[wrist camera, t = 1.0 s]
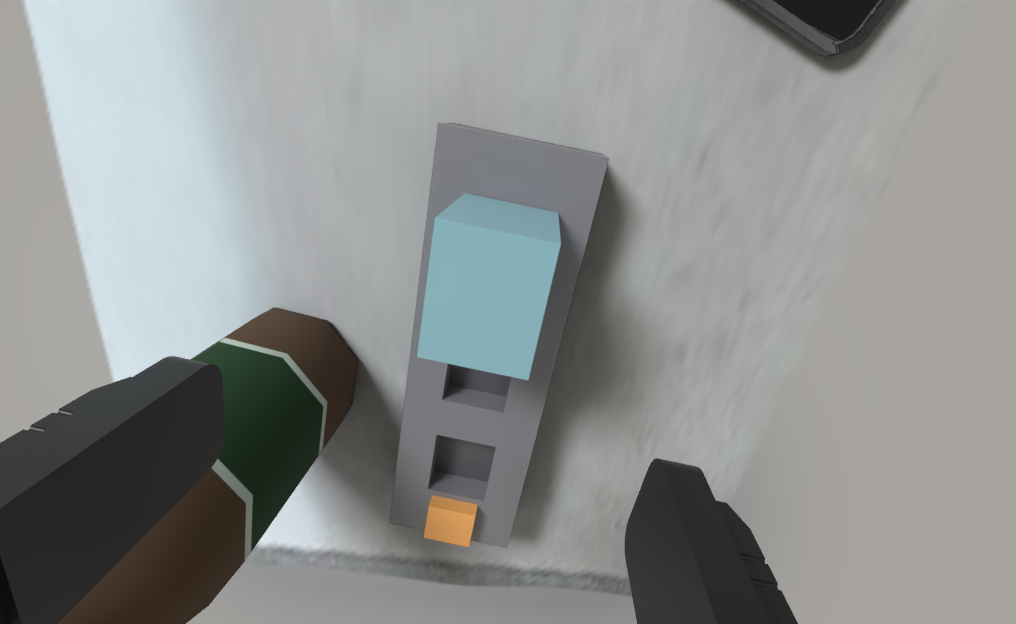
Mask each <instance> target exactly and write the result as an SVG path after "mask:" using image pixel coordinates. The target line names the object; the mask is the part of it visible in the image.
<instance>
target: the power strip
mask: <svg viewBox="0 0 1016 624" xmlns="http://www.w3.org/2000/svg"><path fill="white" fill-rule="evenodd" d="M608 160H609V158H608V157H606V156H604V155H603V154H600V153H596V152H591V151H586V150H581V149H576V148H571V147H567V146H562V145H557V144H552V143H547V142H542V141H538V140H533V139H528V138H523V137H518V136H513V135H508V134H504V133H499V132H494V131H489V130H484V129H479V128H475V127H470V126H465V125H460V124H455V123H438V129H437V137H436V145H435V154H434V162H433V170H432V178H431V186H430V195H429V203H428V211H427V219H426V228H425V236H424V244H423V252H422V260H421V269H420V277H419V285H418V293H417V301H416V310H415V318H414V326H413V334H412V343H411V351H410V359H409V367H408V375H407V384H406V392H405V400H404V408H403V417H402V425H401V433H400V441H399V449H398V458H397V466H396V474H395V482H394V490H393V499H392V507H391V515H390V523H392V524H397V525H402V526H406V527H411V528H416V529H421V530H425V533H424V538H427V539H432V540H437V541H442V542H446V543H451V544H456V545H460V546H465V547H469V544H470V540H472V541H477V542H482V543H487V544H491V545H496V546H501V547H505V548H507V546H508V542H509V538H510V535H511V531H512V527H513V523H514V519H515V516H516V512H517V508H518V504H519V500H520V496H521V493H522V489H523V485H524V481H525V477H526V474H527V470H528V466H529V462H530V458H531V454H532V451H533V447H534V443H535V439H536V435H537V431H538V428H539V424H540V420H541V416H542V412H543V409H544V405H545V401H546V397H547V393H548V389H549V386H550V382H551V378H552V374H553V370H554V367H555V363H556V359H557V355H558V351H559V347H560V344H561V340H562V336H563V332H564V328H565V325H566V321H567V317H568V313H569V309H570V305H571V302H572V298H573V294H574V290H575V286H576V282H577V279H578V275H579V271H580V267H581V263H582V260H583V256H584V252H585V248H586V244H587V240H588V237H589V233H590V229H591V225H592V221H593V218H594V214H595V210H596V206H597V202H598V198H599V195H600V191H601V187H602V183H603V179H604V176H605V172H606V168H607V164H608ZM465 193H467V194H471V195H476V196H481V197H486V198H491V199H496V200H500V201H505V202H510V203H515V204H520V205H524V206H529V207H534V208H539V209H544V210H549V211H553V212H558V216H559V227H560V239H561V246H560V250H559V254H558V258H557V262H556V267H555V271H554V275H553V279H552V283H551V287H550V292H549V296H548V300H547V304H546V308H545V313H544V317H543V321H542V325H541V329H540V333H539V338H538V342H537V346H536V350H535V354H534V358H533V363H532V367H531V371H530V375H529V379H528V380H524V379H519V378H514V377H509V376H505V375H500V374H495V373H490V372H486V371H481V370H476V369H471V368H467V367H462V366H457V365H452V364H447V363H443V362H438V361H433V360H428V359H424V358H419V357H417V354H418V346H419V338H420V330H421V323H422V315H423V307H424V299H425V291H426V284H427V276H428V268H429V260H430V253H431V245H432V237H433V229H434V221H435V217H437V216H438V215H439V214H440V213H441V212H443V211H444V210H445V209H446V208H447V207H449V206H450V205H451V204H452V203H454V202H455V201H456V200H457V199H458V198H460V197H461V196H462V195H463V194H465Z"/></svg>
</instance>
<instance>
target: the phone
mask: <svg viewBox="0 0 1016 624" xmlns="http://www.w3.org/2000/svg"><path fill="white" fill-rule="evenodd" d="M739 1H740V2H741V3H743V4H744V5H746V6H747V7H749V8H750V9H752V10H753V11H755V12H756V13H757V14H759V15H760V16H762V17H763V18H765V19H766V20H768V21H769V22H770V23H772V24H773V25H775V26H776V27H778V28H779V29H781V30H782V31H784V32H785V33H786V34H788V35H789V36H791V37H792V38H794V39H795V40H797V41H798V42H800V43H801V44H802V45H804V46H805V47H807V48H808V49H810V50H811V51H813V52H814V53H817V54H819V55H821V56H832V55H836V54H840V53H844V52H847V51H851V50H852V49H854V48H856V47H857V46H859V45H860V44H861V43H862V42H863V41H864V40H865V39H866V38H867V37H868V36H869V35H870V33H871V32H872V31H873V30H874V28H875V27H876V26H877V24H878V23H879V22H880V20H881V19H882V18H883V16H884V15H885V14H886V12H887V11H888V10H889V9H890V7H891V6H892V5H893V3H894V2H895V1H896V0H739Z"/></svg>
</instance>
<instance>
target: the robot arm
mask: <svg viewBox="0 0 1016 624" xmlns="http://www.w3.org/2000/svg"><path fill="white" fill-rule="evenodd" d="M224 440H225V420H224V400H223V380H222V373H221V370H220V369H219V367H218V366H216V365H213V364H208V363H204V362H199V361H194V360H189V359H184V358H180V357H175V356H170V357H166V358H164V359H162V360H160V361H159V362H157V363H155V364H154V365H152V366H150V367H149V368H147V369H145V370H144V371H142V372H140V373H139V374H137V375H135V376H134V377H129V378H126V379H123V380H120V381H117V382H114V383H111V384H108V385H105V386H102V387H99V388H97V389H94V390H91V391H89V392H88V393H86V394H84V395H83V396H81V397H79V398H77V399H76V400H74V401H72V402H70V403H69V404H67V405H65V406H64V407H62V408H60V409H59V412H58V413H57V414H56V413H51V414H50V415H48V416H46V417H44V418H43V419H41V420H39V421H38V422H36V423H34V424H32V425H31V427H30V429H29V430H28V431H27V430H22V431H20V432H18V433H17V434H15V435H13V436H11V437H10V438H8V439H6V440H5V441H3V442H1V443H0V624H58V623H59V622H60V621H61V620H62V619H63V618H64V617H65V616H66V615H67V614H68V613H69V612H70V611H71V610H72V609H73V608H74V607H75V606H76V605H77V604H78V603H79V602H80V601H81V600H82V599H83V598H84V597H85V596H86V595H87V594H88V593H89V592H90V591H91V590H92V589H93V588H94V587H95V586H96V585H97V584H98V583H99V582H100V581H101V580H102V579H103V578H104V576H105V575H106V574H107V573H108V572H109V571H110V570H111V569H112V568H113V567H114V566H115V565H116V564H117V563H118V562H119V561H120V560H121V559H122V558H123V557H124V556H125V555H126V554H127V553H128V552H129V551H130V550H131V549H132V548H133V547H134V546H135V545H136V544H137V543H138V542H139V541H140V540H141V539H142V538H143V537H144V536H145V535H146V534H147V533H148V532H149V531H150V530H151V529H152V528H153V527H154V526H155V525H156V524H157V523H158V522H159V521H160V520H161V519H162V518H163V517H164V516H165V515H166V514H167V513H168V512H169V511H170V510H171V509H172V508H173V507H174V506H175V504H176V503H177V502H178V501H179V500H180V499H181V498H182V497H183V496H184V495H185V494H186V493H187V492H188V491H189V490H190V489H191V488H192V487H193V486H194V485H195V484H196V483H197V482H198V481H199V480H200V479H201V478H202V477H203V476H204V475H205V474H206V473H207V472H208V471H209V470H210V469H211V468H212V466H213V465H214V464H215V462H216V461H217V459H218V457H219V455H220V453H221V451H222V448H223V445H224ZM625 558H626V564H627V569H628V575H629V580H630V586H631V591H632V597H633V602H634V608H635V612H636V619H637V624H798V623H797V621H796V619H795V617H794V615H793V613H792V611H791V609H790V607H789V605H788V604H787V601H786V599H785V597H784V595H783V593H782V591H780V590H778V588H777V581H776V579H775V577H774V576H773V573H772V571H771V569H770V568H769V566H768V564H765V562H764V561H765V557H764V555H763V554H762V552H761V549H760V548H759V546H758V544H757V542H756V540H755V538H754V536H753V534H752V532H751V530H750V528H749V527H748V526H747V525H746V524H745V523H744V522H743V521H742V520H741V518H740V517H739V516H738V515H737V514H736V513H735V512H734V511H733V510H732V508H731V507H730V506H729V505H728V504H727V503H724V502H719V501H715V498H714V496H713V494H712V492H711V489H710V487H709V485H708V483H707V480H706V478H705V476H704V474H703V472H702V470H701V469H700V468H698V467H695V466H691V465H686V464H681V463H676V462H672V461H667V460H662V459H654V460H653V461H652V462H651V464H650V466H649V468H648V471H647V473H646V476H645V478H644V481H643V484H642V486H641V489H640V491H639V494H638V497H637V499H636V502H635V504H634V507H633V510H632V512H631V515H630V517H629V520H628V524H627V528H626V534H625Z"/></svg>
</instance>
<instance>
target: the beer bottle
mask: <svg viewBox="0 0 1016 624" xmlns="http://www.w3.org/2000/svg"><path fill="white" fill-rule="evenodd" d="M191 360H194V361H199V362H204V363H208V364H213V365H216V366H218V367H219V369H220V370H221V373H222V380H223V400H224V420H225V440H224V445H223V448H222V451H221V453H220V455H219V457H218V459H217V461H216V462H215V464H214V465H213V466H212V468H211V469H210V470H209V471H208V472H207V473H206V474H205V475H204V476H203V477H202V478H201V479H200V480H199V481H198V482H197V483H196V484H195V485H194V486H193V487H192V488H191V489H190V490H189V491H188V492H187V493H186V494H185V495H184V496H183V497H182V498H181V499H180V500H179V501H178V502H177V503H176V504H175V506H174V507H173V508H172V509H171V510H170V511H169V512H168V513H167V514H166V515H165V516H164V517H163V518H162V519H161V520H160V521H159V522H158V523H157V524H156V525H155V526H154V527H153V528H152V529H151V530H150V531H149V532H148V533H147V534H146V535H145V536H144V537H143V538H142V539H141V540H140V541H139V542H138V543H137V544H136V545H135V546H134V547H133V548H132V549H131V550H130V551H129V552H128V553H127V554H126V555H125V556H124V557H123V558H122V559H121V560H120V561H119V562H118V563H117V564H116V565H115V566H114V567H113V568H112V569H111V570H110V571H109V572H108V573H107V574H106V575H105V576H104V578H103V579H102V580H101V581H100V582H99V583H98V584H97V585H96V586H95V587H94V588H93V589H92V590H91V591H90V592H89V593H88V594H87V595H86V596H85V597H84V598H83V599H82V600H81V601H80V602H79V603H78V604H77V605H76V606H75V607H74V608H73V609H72V610H71V611H70V612H69V613H68V614H67V615H66V616H65V617H64V618H63V619H62V620H61V621H60V622H59V623H58V624H186V623H187V622H188V621H190V620H191V619H192V618H193V617H195V616H196V615H197V614H198V613H200V612H201V611H202V610H203V609H205V608H206V607H207V606H209V604H210V603H211V602H212V601H213V600H214V598H215V597H216V596H217V594H218V593H219V592H220V591H221V590H222V588H223V587H224V586H225V585H226V584H227V582H228V581H229V580H230V579H231V577H232V576H233V575H234V574H235V572H236V571H237V570H238V569H239V568H240V566H241V565H242V564H243V563H244V561H245V560H246V559H247V557H248V556H249V554H250V553H251V551H252V550H253V549H254V547H255V546H256V544H257V543H258V541H259V540H260V539H261V537H262V536H263V534H264V533H265V531H266V530H267V529H268V527H269V526H270V524H271V523H272V521H273V520H274V518H275V517H276V516H277V514H278V513H279V511H280V510H281V508H282V507H283V506H284V504H285V503H286V501H287V500H288V498H289V497H290V496H291V494H292V493H293V491H294V490H295V488H296V487H297V486H298V484H299V483H300V481H301V480H302V478H303V477H304V476H305V474H306V473H307V471H308V470H309V468H310V467H311V465H312V464H313V463H314V461H315V460H316V458H317V457H318V455H319V454H320V453H321V451H322V450H323V448H324V447H325V445H326V444H327V443H328V441H329V440H330V438H331V437H332V435H333V434H334V433H335V431H336V430H337V428H338V427H339V425H340V424H341V422H342V421H343V419H344V417H345V416H346V414H347V412H348V410H349V409H350V407H351V405H352V402H353V395H354V387H355V379H356V372H357V364H358V361H357V358H356V357H355V356H354V354H353V353H352V352H351V350H350V349H349V348H348V347H347V345H346V344H345V343H344V341H343V340H342V339H341V338H340V336H339V335H338V334H337V333H336V331H335V330H334V329H333V327H332V326H331V325H330V324H329V322H328V321H327V320H323V319H319V318H315V317H311V316H308V315H304V314H300V313H296V312H292V311H288V310H284V309H280V308H272V309H270V310H269V311H267V312H265V313H263V314H261V315H259V316H258V317H256V318H254V319H252V320H251V321H249V322H248V323H246V324H245V325H243V326H241V327H240V328H238V329H237V330H235V331H234V332H232V333H231V334H229V335H227V336H226V337H224V338H223V339H221V340H220V341H218V342H216V343H215V344H213V345H212V346H210V347H209V348H207V349H206V350H204V351H203V352H201V353H200V354H198V355H197V356H195V357H194V358H192V359H191Z"/></svg>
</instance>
